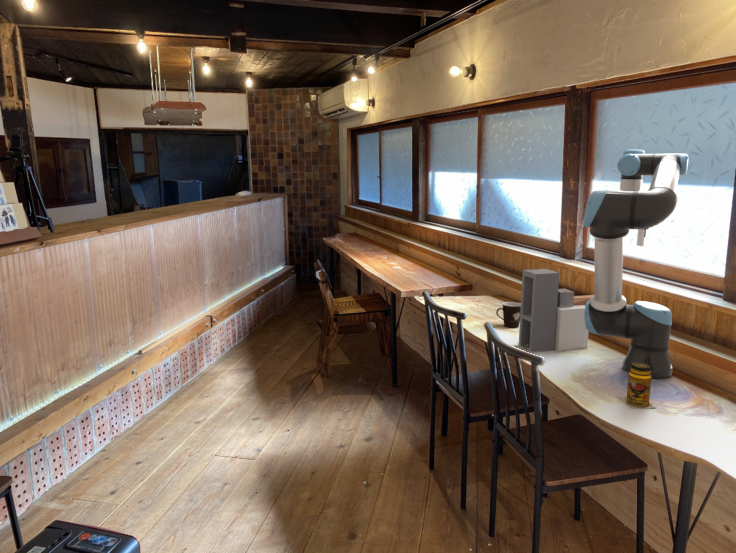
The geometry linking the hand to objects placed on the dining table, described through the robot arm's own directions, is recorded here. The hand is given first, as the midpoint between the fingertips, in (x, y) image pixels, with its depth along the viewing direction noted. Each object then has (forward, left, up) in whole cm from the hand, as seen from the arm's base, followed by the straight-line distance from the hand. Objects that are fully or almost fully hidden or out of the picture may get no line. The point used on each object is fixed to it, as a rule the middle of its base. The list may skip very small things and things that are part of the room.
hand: (625, 246), depth 212 cm
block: (+3, +23, -39) cm, 45 cm away
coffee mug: (+33, +30, -39) cm, 59 cm away
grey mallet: (+3, +18, -23) cm, 29 cm away
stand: (+3, +35, -39) cm, 52 cm away
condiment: (-51, +36, -39) cm, 74 cm away
